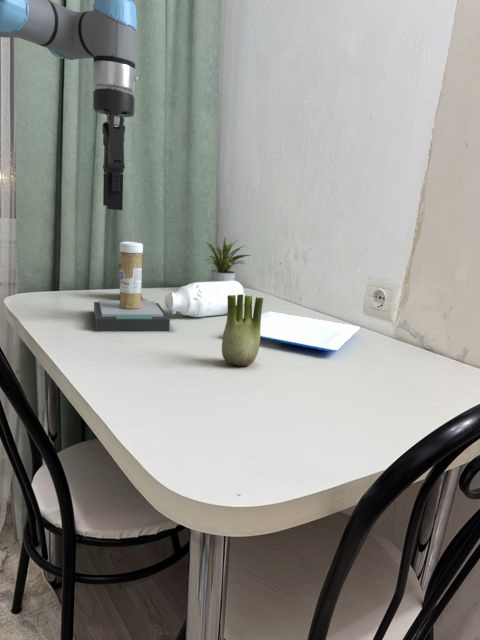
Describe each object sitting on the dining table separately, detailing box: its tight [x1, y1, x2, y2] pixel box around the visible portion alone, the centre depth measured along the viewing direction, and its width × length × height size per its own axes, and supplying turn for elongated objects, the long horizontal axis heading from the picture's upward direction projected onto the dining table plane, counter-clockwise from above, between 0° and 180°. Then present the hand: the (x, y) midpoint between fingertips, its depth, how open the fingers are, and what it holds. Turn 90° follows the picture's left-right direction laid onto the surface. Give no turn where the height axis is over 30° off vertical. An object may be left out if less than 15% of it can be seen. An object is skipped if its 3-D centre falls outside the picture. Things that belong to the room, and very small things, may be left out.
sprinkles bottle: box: [119, 241, 144, 309], centre depth 104 cm, size 5×5×13 cm
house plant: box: [204, 236, 251, 282], centre depth 146 cm, size 14×14×16 cm
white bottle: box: [164, 279, 246, 319], centre depth 117 cm, size 8×19×8 cm, turn 132°
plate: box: [252, 310, 361, 353], centre depth 106 cm, size 22×22×2 cm
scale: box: [93, 299, 171, 332], centre depth 107 cm, size 16×14×3 cm
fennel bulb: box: [221, 294, 264, 367], centre depth 84 cm, size 6×5×12 cm
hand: (112, 207), depth 102 cm, fingers open, 13 cm apart
